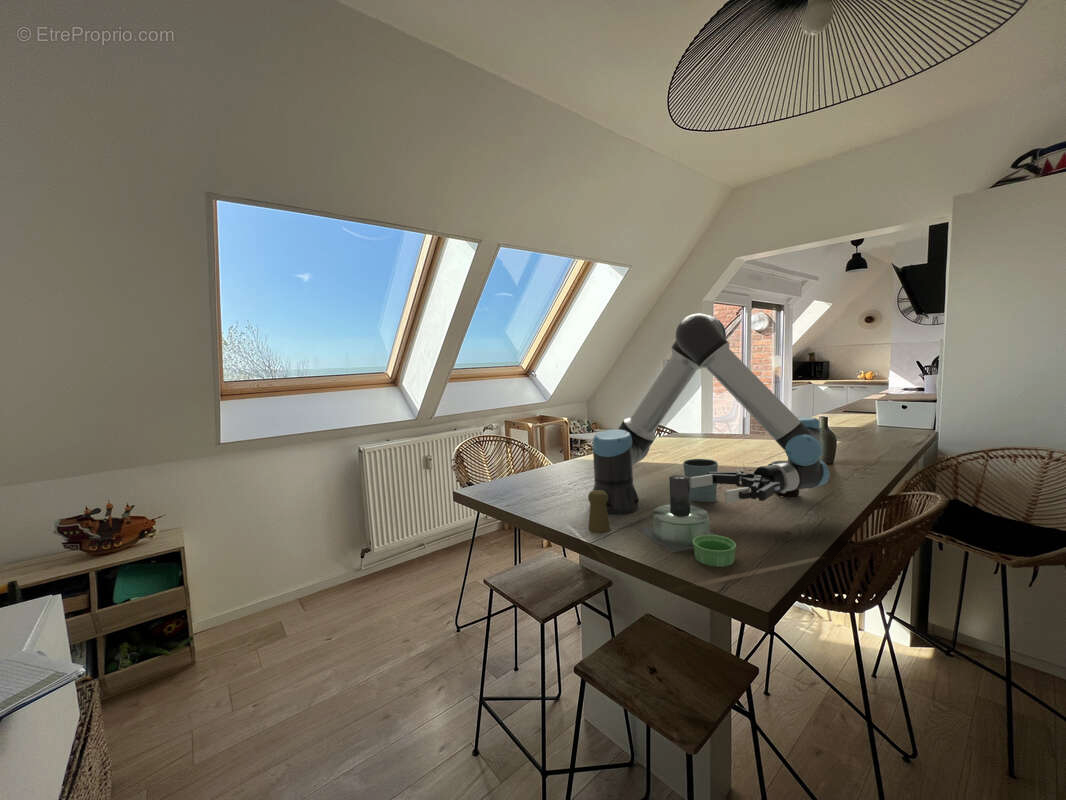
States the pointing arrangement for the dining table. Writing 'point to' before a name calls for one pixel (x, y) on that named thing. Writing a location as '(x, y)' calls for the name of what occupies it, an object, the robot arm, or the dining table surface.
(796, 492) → the coffee mug
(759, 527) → the dining table surface
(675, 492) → the cover
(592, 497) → the cork
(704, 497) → the teal cup
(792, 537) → the dining table surface
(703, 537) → the ramekin
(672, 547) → the mat
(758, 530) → the dining table surface
